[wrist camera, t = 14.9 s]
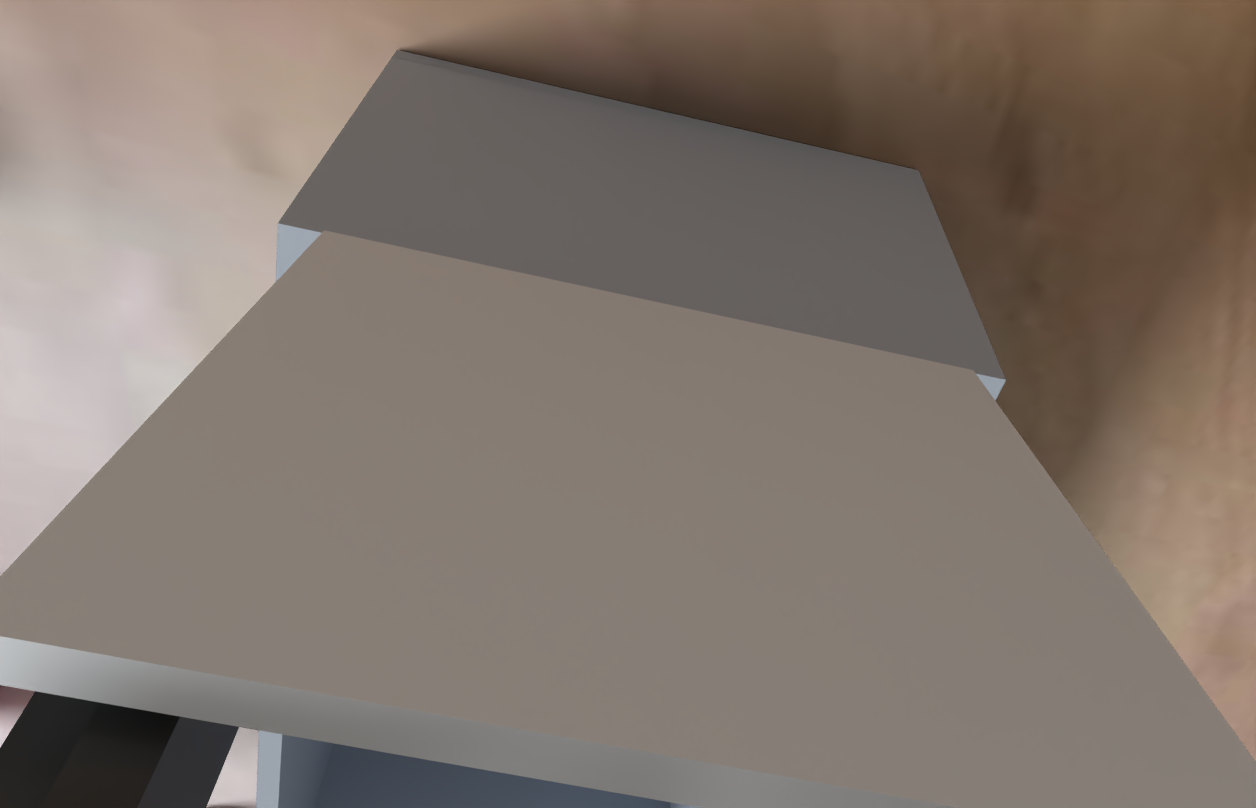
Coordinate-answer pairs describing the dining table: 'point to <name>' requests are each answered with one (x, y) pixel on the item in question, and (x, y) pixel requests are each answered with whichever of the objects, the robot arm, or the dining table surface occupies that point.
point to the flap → (610, 559)
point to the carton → (614, 281)
